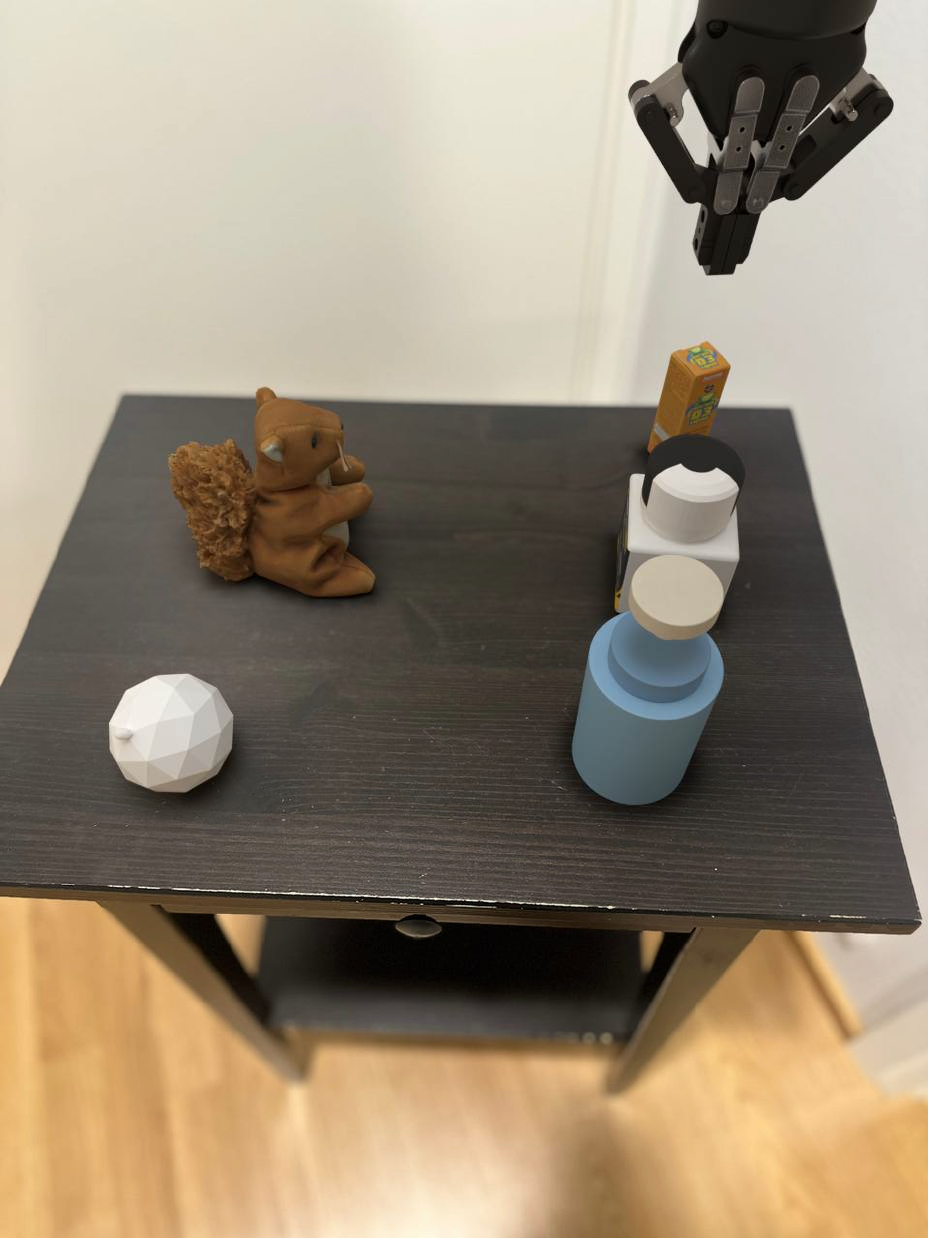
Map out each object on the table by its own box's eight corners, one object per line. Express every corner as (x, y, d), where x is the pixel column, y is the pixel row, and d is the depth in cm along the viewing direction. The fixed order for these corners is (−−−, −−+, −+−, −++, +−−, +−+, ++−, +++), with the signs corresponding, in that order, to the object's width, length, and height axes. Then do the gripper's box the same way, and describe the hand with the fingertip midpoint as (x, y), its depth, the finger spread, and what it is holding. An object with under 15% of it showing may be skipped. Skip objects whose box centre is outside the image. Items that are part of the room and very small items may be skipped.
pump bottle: (674, 701, 57) (714, 587, 48) (696, 802, 53) (745, 700, 43) (565, 706, 57) (583, 593, 47) (579, 808, 53) (602, 707, 43)
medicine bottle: (617, 539, 66) (641, 415, 56) (713, 548, 65) (754, 425, 55) (613, 614, 62) (639, 494, 52) (716, 625, 61) (761, 505, 51)
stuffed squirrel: (384, 595, 63) (365, 460, 52) (187, 615, 62) (127, 482, 51) (376, 497, 69) (357, 357, 58) (196, 514, 68) (144, 376, 57)
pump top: (700, 592, 46) (713, 551, 43) (718, 661, 43) (733, 623, 40) (616, 595, 45) (624, 555, 43) (629, 665, 43) (639, 627, 40)
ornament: (259, 788, 54) (166, 799, 46) (168, 786, 57) (66, 796, 50) (261, 674, 55) (169, 667, 47) (170, 679, 58) (71, 673, 50)
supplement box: (669, 478, 70) (694, 375, 62) (645, 451, 71) (667, 348, 63) (703, 465, 70) (733, 362, 62) (679, 439, 72) (705, 336, 64)
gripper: (674, -92, 32) (610, 312, 46) (1019, -99, 33) (852, 302, 47) (637, -152, 37) (589, 234, 51) (943, -158, 37) (811, 226, 51)
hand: (716, 266), depth 49 cm, fingers closed
